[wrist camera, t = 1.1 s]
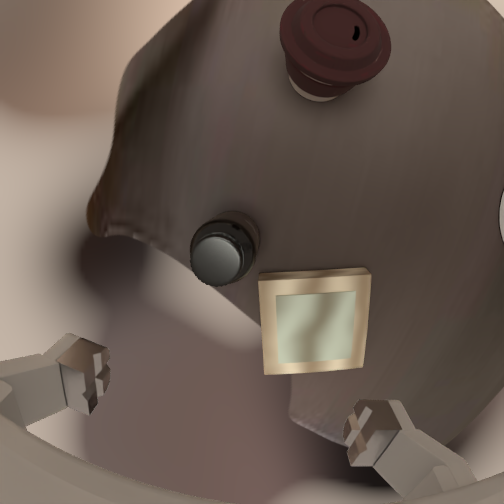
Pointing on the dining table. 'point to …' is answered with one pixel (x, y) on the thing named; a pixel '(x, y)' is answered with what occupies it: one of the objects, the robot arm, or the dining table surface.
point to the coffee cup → (332, 46)
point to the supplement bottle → (224, 248)
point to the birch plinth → (314, 319)
